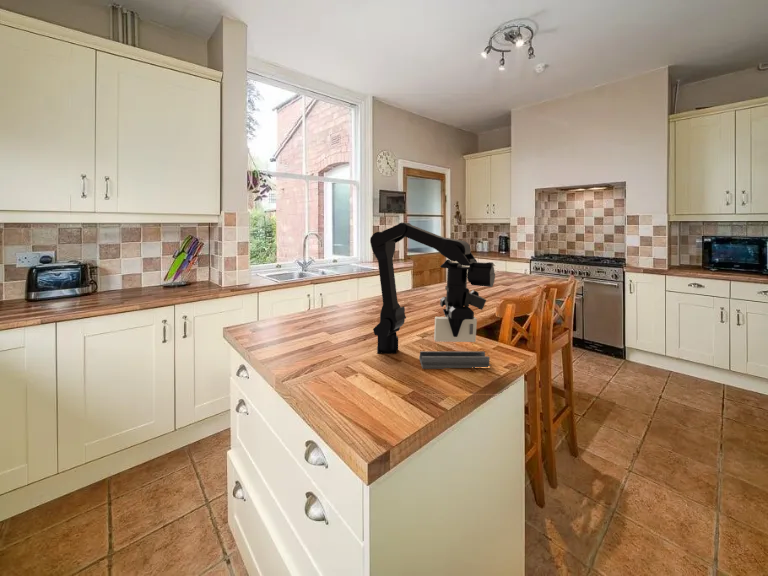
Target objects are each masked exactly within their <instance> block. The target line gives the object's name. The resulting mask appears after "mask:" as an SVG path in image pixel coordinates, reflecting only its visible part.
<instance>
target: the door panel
mask: <svg viewBox="0 0 768 576" xmlns="http://www.w3.org/2000/svg"><path fill="white" fill-rule="evenodd" d="M477 324H478V320H477V317H476V316H474V319H465V320H464V321H463V322H462V324H461V327H460V330H459V333H458V336H457V337H454V336H453V333H452V330H451V327H450V324H449V321H448V318H447V317H445V316H435V317H434V331H433V340H434V342H435V343H438V342H439V343H440V342H441V343H442V342H443V343H445V342H446V343H447V342H448V343H450V342H452V343H476V342H477V341H476V340H477V339H476V338H477V337H476V336H477Z"/></svg>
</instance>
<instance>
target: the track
mask: <svg viewBox="0 0 768 576" xmlns="http://www.w3.org/2000/svg"><path fill="white" fill-rule="evenodd" d="M419 362H420V365H421V368H422V369H423V370H434V369H435V370H437V369H439V370H445V369H444V368H472V367H473V368H475V367H488V366H491V364H490V356H488V355H487V356H486V352H485V351H473V350H472V351H470V350H469V351H468V350H467V351H465V350H464V351H463V350H462V351H461V350H460V351H454V350H452V351H451V350H450V351H449V350H448V351H441V350H439V351H434V350H433V351H431V350H429V351H427V350H423V351H422V350H421V351H419ZM491 367H492V366H491Z"/></svg>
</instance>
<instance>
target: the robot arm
mask: <svg viewBox="0 0 768 576" xmlns="http://www.w3.org/2000/svg"><path fill="white" fill-rule="evenodd" d="M404 238H408V239H410V240H413V241H415V242H417V243H419V244H422V245H425V246H427V247H429V248H432V249H434V250H435V251H437V252H438V253H439V254H440V255H442V256H443V257H445V258H446V260H445V261H444V262H443V263H442V264H441V265H439V266H440V268H441V269H447V272H446V285H445V291H446V296H442V297H441V298H440V300H439V301H440V302H439V305H440V307H442V308H443V307H444V306H445V308H443V309H442V311H443V313H444V317H447V318H448V321H449V324H450V327H451V330H452V333H453V336H454V337H457V336H458V333H459V330H460V327H461V324H462V322H463V321H464V320H465V319H474V317H475V312H474V311H473V309H472V308H470V306H473V307H475V308H477V309H478V310H481V311H483V310H484V307H485V305H486V302H487V299H485V297H482V296H481V295H480V294H479V292H478V291H477V290H475V289H472V290H471V291H470V289H469V288H468V287H467V286H468V283H470V285H471V286H477V287H489V288H493V287H494V284H495V281H496V280H495V279H496V273H495V267H494V262H493V261H491V262H488V261H487V262H478V261H477V259H476V257H474V255H473V253H472V252H471V250H472V249H471V246H470V243H468V241H465V240H462V239H456V238H449V237H444V236H441V235H439V234H435V233H432V232H430V231H427V230H426V229H423V228H420V227H418V226H415V225H413V224H411V223H410V222H399V223H398V224H396V225H394V226H392V227H390V228H387V229H384V230H382V231H376V232H374V233H373V234H372V235H371V236H370V241H369V243H370V247H371V249H372V254H373V255H374V256H375V258H376V259H377V263H378V264H377V265H378V271H379V279H380V280H379V281H380V282H379V283H380V289H381V299H382V305H381V306H382V307H381V309H380V316H379V323H378V324H377V325H376V326H375V327H374V328H373V329H372V330H373V333H374V336H377V346H376V354H379V355H380V354H381V355H382V354H384V355H387V354H390V355H391V354H395V355H396V354H398V351H399V336H398V334H397V332H399V331H400V328H401V327H402V326H403V325H404V324H405V321H406V319H407V316H406V313H405V312H406V311H405V310H406V308H405V306H401V305H400V304H399V302H398V294H397V285H396V278H395V277H396V276H395V268H394V255H395V252H396V243H399V242H400V241H402V240H403V239H404Z"/></svg>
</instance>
